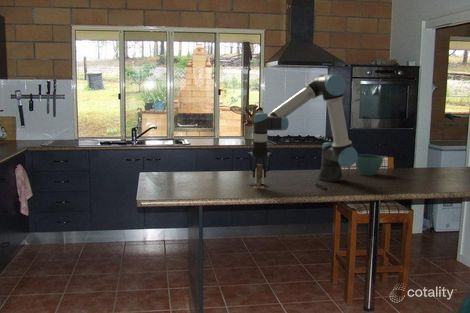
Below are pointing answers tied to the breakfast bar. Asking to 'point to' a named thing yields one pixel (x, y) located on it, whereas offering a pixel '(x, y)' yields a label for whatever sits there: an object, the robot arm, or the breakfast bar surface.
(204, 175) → the breakfast bar surface
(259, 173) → the awl
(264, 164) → the robot arm
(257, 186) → the joist mark
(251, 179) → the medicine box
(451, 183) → the breakfast bar surface
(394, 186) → the breakfast bar surface
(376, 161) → the plant pot
